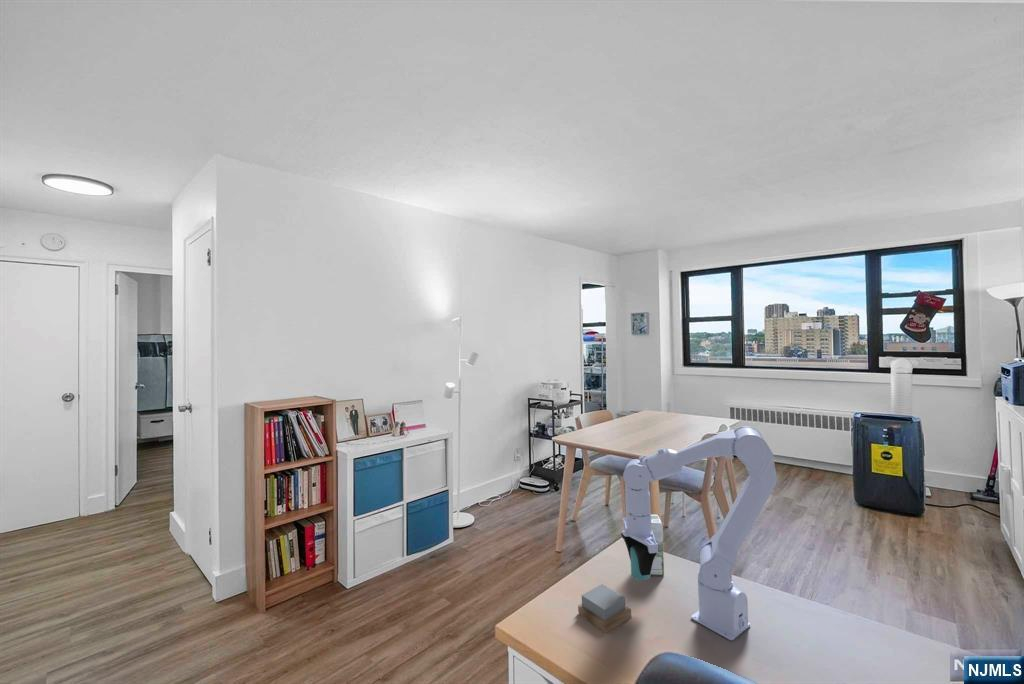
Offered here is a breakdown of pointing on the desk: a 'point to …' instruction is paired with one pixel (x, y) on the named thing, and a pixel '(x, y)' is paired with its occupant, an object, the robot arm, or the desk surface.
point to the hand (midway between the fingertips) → (640, 568)
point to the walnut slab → (610, 622)
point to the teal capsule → (636, 566)
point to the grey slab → (603, 602)
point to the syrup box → (658, 535)
